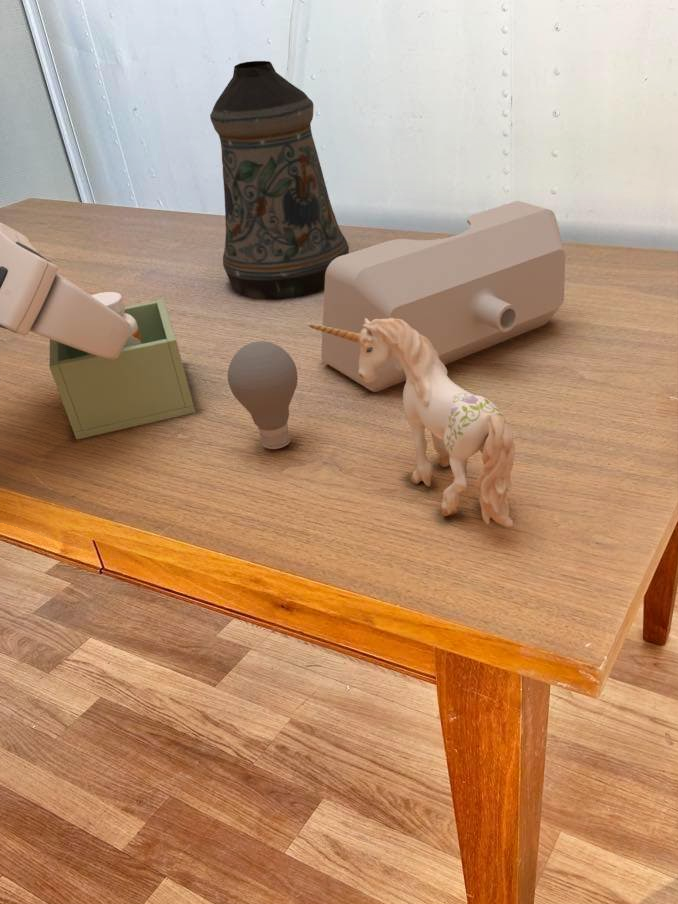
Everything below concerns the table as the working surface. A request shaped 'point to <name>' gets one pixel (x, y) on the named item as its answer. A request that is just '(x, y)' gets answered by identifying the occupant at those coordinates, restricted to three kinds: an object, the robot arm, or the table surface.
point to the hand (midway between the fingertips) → (118, 339)
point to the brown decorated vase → (273, 188)
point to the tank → (449, 288)
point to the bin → (124, 378)
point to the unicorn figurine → (441, 415)
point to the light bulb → (265, 388)
